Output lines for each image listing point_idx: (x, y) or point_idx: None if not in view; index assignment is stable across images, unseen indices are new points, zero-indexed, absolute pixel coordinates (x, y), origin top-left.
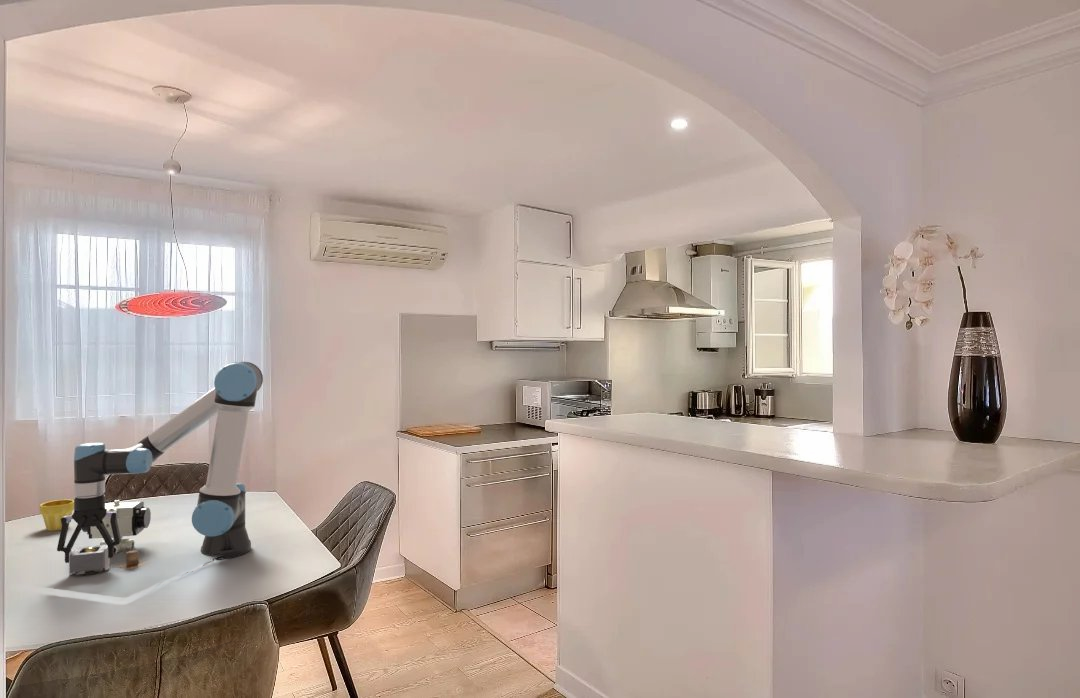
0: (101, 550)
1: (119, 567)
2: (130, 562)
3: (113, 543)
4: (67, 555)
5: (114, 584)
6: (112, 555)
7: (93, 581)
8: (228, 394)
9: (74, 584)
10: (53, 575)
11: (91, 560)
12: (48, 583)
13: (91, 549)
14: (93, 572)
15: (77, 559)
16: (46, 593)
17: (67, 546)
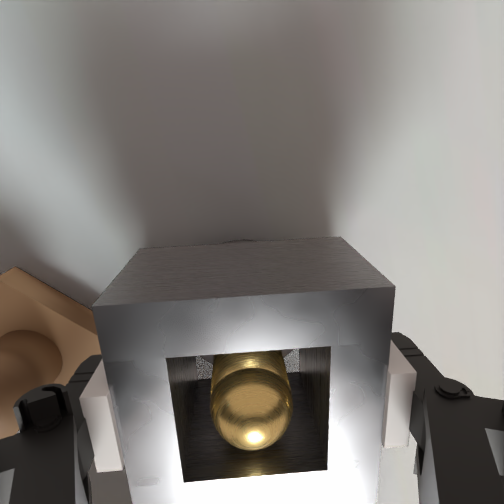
0: (129, 366)
1: (90, 335)
2: (8, 345)
3: (11, 454)
4: (416, 369)
5: (44, 97)
6: (82, 366)
7: (200, 212)
8: None
9: (293, 198)
10: None
11: (205, 270)
12: (429, 269)
13: (232, 406)
14: None
15: (316, 273)
16: (413, 87)
17: (473, 426)
